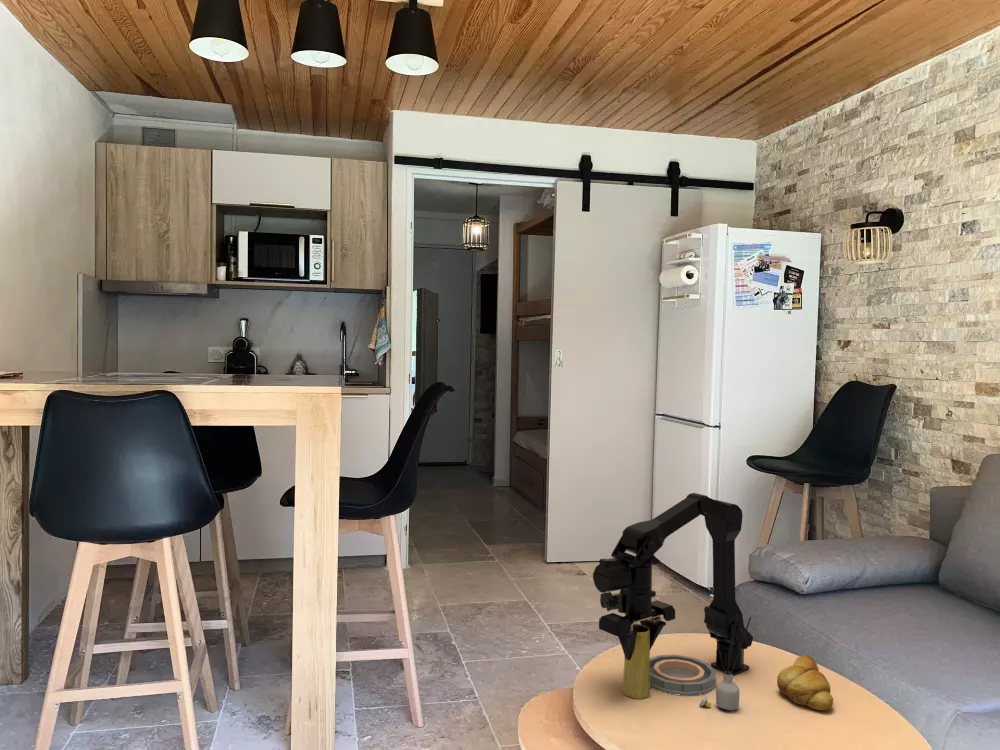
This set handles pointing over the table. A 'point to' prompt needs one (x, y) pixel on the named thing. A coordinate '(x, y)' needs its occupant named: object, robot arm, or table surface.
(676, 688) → the grooved tray
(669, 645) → the table surface
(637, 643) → the vase
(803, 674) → the bread roll
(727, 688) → the reed diffuser
